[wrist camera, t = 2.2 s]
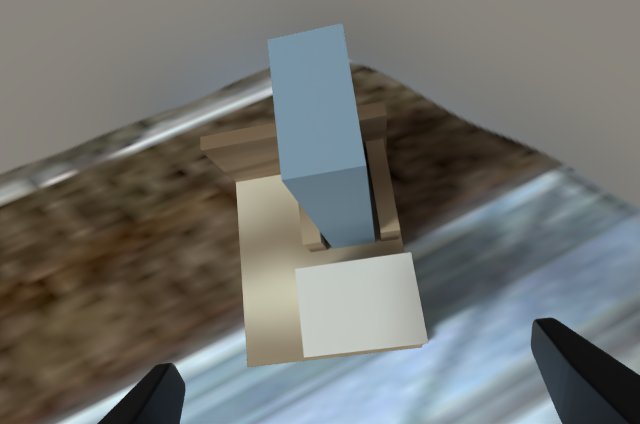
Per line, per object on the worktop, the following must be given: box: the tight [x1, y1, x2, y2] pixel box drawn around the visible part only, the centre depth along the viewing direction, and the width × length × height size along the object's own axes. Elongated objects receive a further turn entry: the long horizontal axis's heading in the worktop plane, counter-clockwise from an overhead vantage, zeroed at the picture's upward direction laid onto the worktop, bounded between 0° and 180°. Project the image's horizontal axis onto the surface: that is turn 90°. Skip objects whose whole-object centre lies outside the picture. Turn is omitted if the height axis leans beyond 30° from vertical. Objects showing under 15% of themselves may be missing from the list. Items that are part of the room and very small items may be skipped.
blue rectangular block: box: [268, 24, 375, 249], centre depth 17 cm, size 5×2×12 cm, turn 7°
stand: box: [200, 101, 422, 367], centre depth 21 cm, size 12×10×6 cm
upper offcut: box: [295, 252, 428, 358], centre depth 18 cm, size 4×6×2 cm
